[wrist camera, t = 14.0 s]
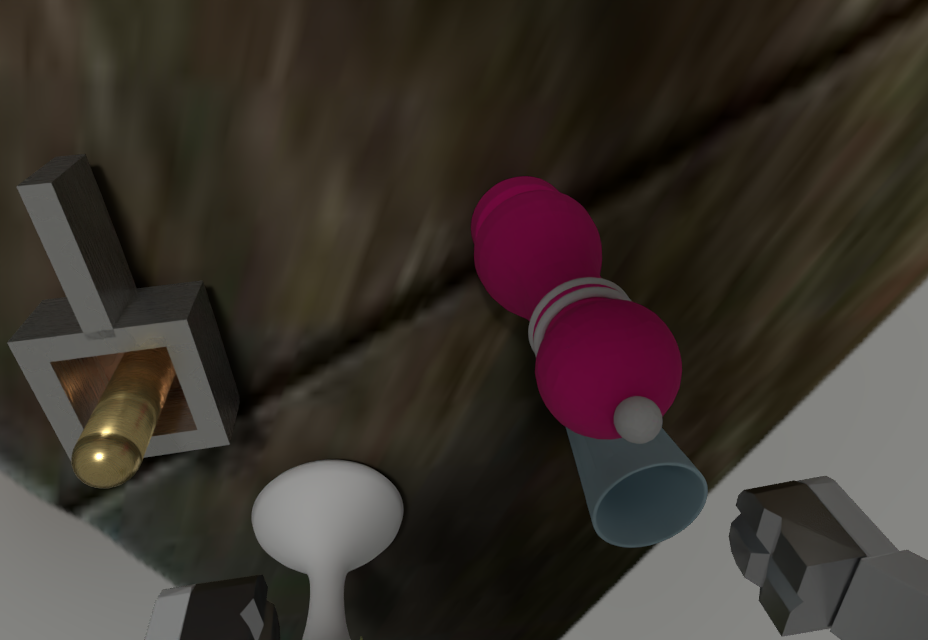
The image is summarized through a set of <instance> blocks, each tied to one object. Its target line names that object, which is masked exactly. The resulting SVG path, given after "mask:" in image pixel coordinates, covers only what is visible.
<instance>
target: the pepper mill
mask: <svg viewBox="0 0 928 640" xmlns="http://www.w3.org/2000/svg"><path fill="white" fill-rule="evenodd" d="M471 235H472V239H473V242H474V245H475V246H474V261H475V268H476V271H477V274H478V276H479V278H480V280H481V282H482V284H483V285H484V287H485V289H486V290H487V292H488V293H489V294H490V296H491V297H492V298H493V299H494V300H495V301H497V302H498V303H499V304H500V305H501V306H503V307H504V308H505V309H507V310H508V311H510V312H512V313H514V314H516V315H518V316H521V317H523V318H526V319H527V320H529V321H530V323H529V329H528V336H529V342H530V345H531V347H532V350H533V351H534V353H535V356H536V365H535V376H536V381H537V386H538V390H539V393H540V395H541V397H542V399H543V401H544V403H545V405H546V407H547V408H548V409H549V411H550V412H551V413H552V414H553V416H554V417H555V418H556V419H557V420H558V421H559V422H560V423H561V424H562V425H564V426H565V427H567V428H568V429H570V430H571V431H573V432H575V433H577V434H580V435H583V436H586V437H591V438H595V439H608V440H612V439H619V438H624V439H625V440H627V441H628V442H632V443H636V444H643V443H647V442H649V441H651V440H653V439H654V438H655V437H656V436H657V435H658V433H659V432H660V430H661V427H662V416H663V415H664V414H665V413H666V412H667V410H668V409H669V408H670V406H671V405H672V404H673V402H674V399H675V397H676V395H677V392H678V390H679V388H680V382H681V375H682V361H681V356H680V351H679V348H678V345H677V342H676V340H675V338H674V336H673V334H672V333H671V331H670V330H669V328H668V327H667V325H666V324H665V323H664V322H663V321H662V320H661V319H660V318H659V317H658V316H657V315H656V314H655V313H654V312H652V311H651V310H649V309H647V308H646V307H644V306H642V305H640V304H637V303H634V302H632V301H631V300H630V299H629V298H628V296H627V295H626V293H625V292H624V291H623V290H622V289H621V288H620V287H619V286H618V285H616V284H615V283H613V282H611V281H609V280H605V279H602V278H601V276H600V271H601V265H602V246H601V241H600V235H599V232H598V230H597V227H596V225H595V224H594V222H593V220H592V219H591V217H590V215H589V214H588V212H587V211H586V210H585V209H584V207H583V206H582V205H581V204H580V203H578V202H577V201H576V200H574V199H573V198H571V197H569V196H568V195H565V194H562V193H560V192H559V191H558V190H557V189H556V188H555V187H554V186H553V185H551V184H550V183H548V182H546V181H544V180H542V179H540V178H536V177H529V176H521V177H514V178H510V179H507V180H504V181H502V182H500V183H498V184H496V185H495V186H493V187H492V188H491V189H490V190H489V191H487V192H486V193H485V194H484V196H483V197H482V198H481V199H480V201H479V203H478V204H477V206H476V208H475V210H474V213H473V216H472V221H471Z"/></svg>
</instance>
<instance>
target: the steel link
mask: <svg viewBox="0 0 928 640" xmlns="http://www.w3.org/2000/svg"><path fill="white" fill-rule="evenodd" d="M17 189H18V191H19V193H20V195H21V197H22V200H23V202H24V204H25V206H26V208H27V211H28V213H29V215H30V217H31V219H32V222H33V224H34V226H35V228H36V230H37V233H38V235H39V237H40V239H41V241H42V244H43V246H44V248H45V250H46V252H47V254H48V257H49V259H50V261H51V263H52V265H53V268H54V270H55V272H56V274H57V276H58V279H59V281H60V283H61V285H62V287H63V290H64V292H65V294H66V296H67V297H64V298H56V299H48V300H42V302H41V303H40V304H39V305H38V306H37V307H36V309H35V310H34V311H33V312H32V313H31V315H30V316H29V317H28V318H27V319H26V321H25V322H24V323H23V324H22V325H21V327H20V328H19V329H18V330H17V331H16V333H15V334H14V335H13V336H12V337H11V339H10V340H9V341H8V342H7V343H8V345H9V347H10V349H11V351H12V353H13V354H14V356H15V358H16V360H17V362H18V364H19V366H20V367H21V369H22V371H23V373H24V375H25V377H26V379H27V380H28V382H29V384H30V386H31V388H32V390H33V392H34V393H35V395H36V397H37V399H38V401H39V403H40V405H41V406H42V408H43V410H44V412H45V414H46V416H47V418H48V419H49V421H50V423H51V425H52V427H53V429H54V431H55V432H56V434H57V436H58V438H59V440H60V442H61V444H62V445H63V447H64V449H65V451H66V453H67V455H68V457H69V458H70V460H71V457H72V452H73V449H74V447H75V445H76V443H77V441H78V439H79V437H80V435H81V433H82V431H83V430H84V428H85V426H86V424H87V422H88V420H89V418H90V416H91V414H92V413H93V411H94V409H95V407H96V405H97V403H98V401H99V399H100V398H101V396H102V394H103V392H104V390H105V388H106V386H107V384H108V383H109V382H108V380H107V378H106V375H105V373H104V371H103V369H102V366H101V364H100V362H99V360H98V358H97V356H99V355H107V354H115V353H122V352H130V351H137V350H145V349H152V348H160V347H167V350H168V353H169V355H170V358H171V361H172V363H173V366H174V369H175V371H176V374H177V377H178V379H179V382H180V385H181V387H182V388H180V389H173V390H169V393H168V395H167V398H166V401H165V403H164V406H163V408H162V411H161V413H160V416H159V419H158V421H157V424H156V426H155V429H154V431H153V434H152V437H151V439H150V442H149V444H148V447H147V449H146V452H145V455H144V457H151V456H158V455H164V454H171V453H178V452H184V451H191V450H198V449H204V448H211V447H218V446H224V445H230V442H231V438H232V433H233V429H234V424H235V420H236V416H237V411H238V407H239V403H240V396H239V393H238V390H237V386H236V383H235V380H234V377H233V374H232V371H231V368H230V364H229V361H228V358H227V355H226V352H225V349H224V345H223V342H222V339H221V336H220V333H219V330H218V326H217V323H216V320H215V317H214V314H213V311H212V308H211V304H210V301H209V298H208V295H207V292H206V289H205V285H204V282H203V281H195V282H187V283H178V284H170V285H162V286H154V287H146V288H137V287H136V284H135V282H134V279H133V276H132V274H131V271H130V269H129V266H128V263H127V261H126V258H125V256H124V253H123V250H122V248H121V245H120V242H119V240H118V237H117V235H116V232H115V229H114V227H113V224H112V222H111V219H110V216H109V214H108V211H107V209H106V206H105V203H104V201H103V198H102V196H101V193H100V190H99V188H98V185H97V183H96V180H95V177H94V175H93V172H92V169H91V167H90V164H89V162H88V159H87V156H86V154H81V155H71V156H61V157H55V158H53V159H52V160H51V161H49V162H48V163H47V164H45V165H44V166H43V167H41V168H40V169H39V170H37V171H36V172H35V173H33V174H32V175H31V176H30V177H28V178H27V179H26V180H24V181H23V182H22V183H20V184H19V185H18V186H17ZM144 457H143V458H144Z"/></svg>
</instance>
